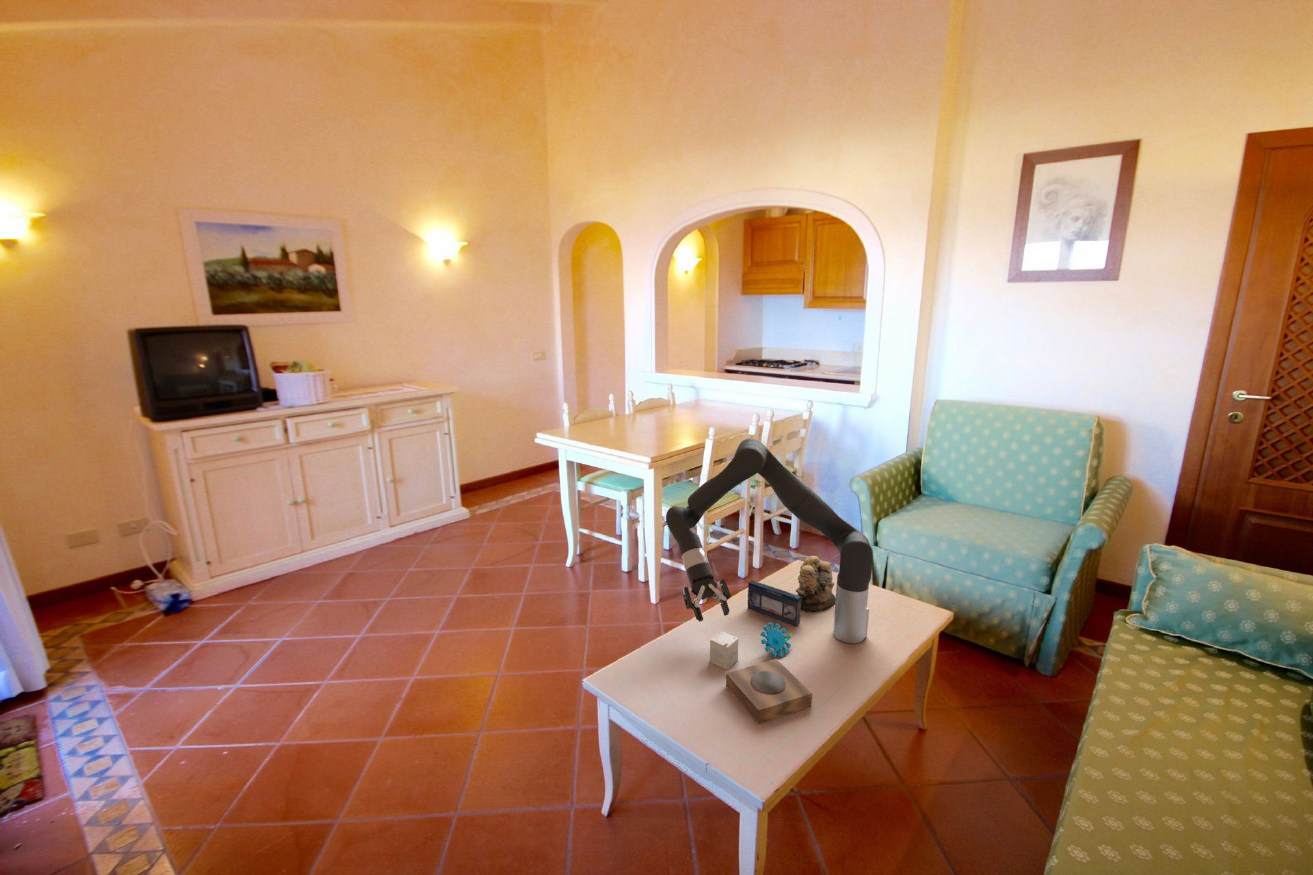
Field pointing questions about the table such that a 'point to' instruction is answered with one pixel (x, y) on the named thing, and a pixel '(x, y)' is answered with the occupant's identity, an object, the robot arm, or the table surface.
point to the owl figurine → (815, 585)
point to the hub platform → (768, 690)
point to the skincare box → (724, 650)
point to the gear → (775, 639)
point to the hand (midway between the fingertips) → (714, 617)
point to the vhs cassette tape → (774, 603)
